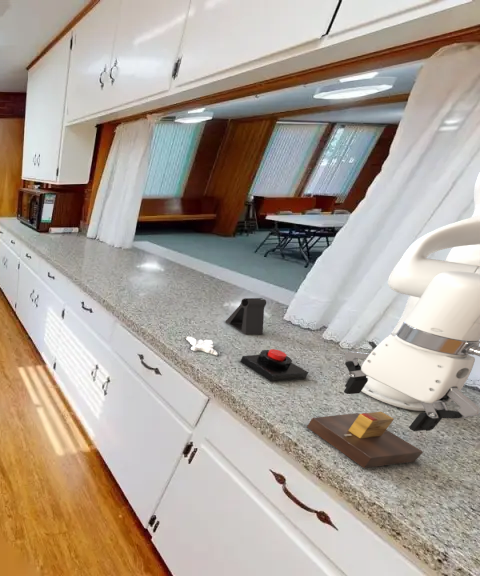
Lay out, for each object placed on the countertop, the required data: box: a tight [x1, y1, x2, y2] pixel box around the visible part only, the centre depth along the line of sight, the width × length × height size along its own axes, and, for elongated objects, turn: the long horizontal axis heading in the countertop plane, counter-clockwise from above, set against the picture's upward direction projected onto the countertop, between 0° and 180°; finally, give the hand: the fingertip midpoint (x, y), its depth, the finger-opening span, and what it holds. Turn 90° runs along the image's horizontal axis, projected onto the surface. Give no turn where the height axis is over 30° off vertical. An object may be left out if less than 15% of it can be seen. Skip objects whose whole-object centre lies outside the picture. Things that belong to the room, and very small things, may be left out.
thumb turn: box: [348, 411, 395, 438], centre depth 62 cm, size 5×2×5 cm, turn 96°
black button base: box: [240, 349, 309, 382], centre depth 86 cm, size 11×9×4 cm
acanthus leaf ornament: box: [186, 336, 219, 356], centre depth 97 cm, size 8×7×2 cm
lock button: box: [268, 348, 288, 361], centre depth 86 cm, size 4×4×2 cm
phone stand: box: [225, 297, 267, 335], centre depth 106 cm, size 9×6×12 cm, turn 178°
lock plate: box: [306, 412, 424, 469], centre depth 64 cm, size 12×10×3 cm
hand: (381, 409), depth 60 cm, fingers open, 9 cm apart
